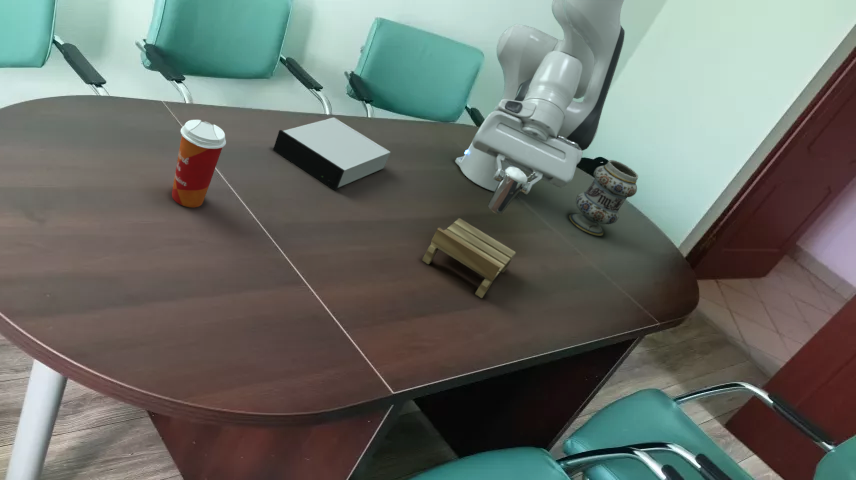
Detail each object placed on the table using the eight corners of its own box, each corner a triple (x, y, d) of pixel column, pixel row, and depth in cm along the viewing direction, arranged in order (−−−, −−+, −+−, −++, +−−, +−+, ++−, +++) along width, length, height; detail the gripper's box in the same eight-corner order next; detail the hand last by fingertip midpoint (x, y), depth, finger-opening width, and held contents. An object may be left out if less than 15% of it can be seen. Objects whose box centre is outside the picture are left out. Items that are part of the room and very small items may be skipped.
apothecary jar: (614, 238, 181) (654, 182, 171) (587, 238, 174) (627, 180, 164) (584, 212, 188) (620, 157, 179) (557, 211, 181) (593, 153, 172)
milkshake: (511, 219, 130) (539, 177, 125) (488, 212, 129) (515, 169, 123) (504, 206, 134) (531, 165, 128) (481, 199, 132) (508, 157, 127)
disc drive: (272, 150, 149) (279, 129, 146) (327, 133, 167) (333, 115, 164) (334, 190, 144) (342, 171, 141) (384, 169, 162) (391, 151, 159)
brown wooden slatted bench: (450, 235, 147) (466, 205, 143) (505, 269, 144) (523, 239, 140) (420, 261, 133) (437, 229, 129) (480, 299, 130) (500, 267, 126)
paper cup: (169, 182, 123) (185, 113, 115) (210, 194, 125) (229, 127, 117) (162, 203, 117) (179, 132, 109) (206, 215, 119) (225, 146, 111)
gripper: (578, 153, 133) (554, 213, 131) (485, 110, 134) (458, 169, 131) (592, 141, 127) (566, 203, 124) (494, 95, 127) (466, 157, 125)
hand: (510, 185), depth 128 cm, fingers closed on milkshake, 4 cm apart
